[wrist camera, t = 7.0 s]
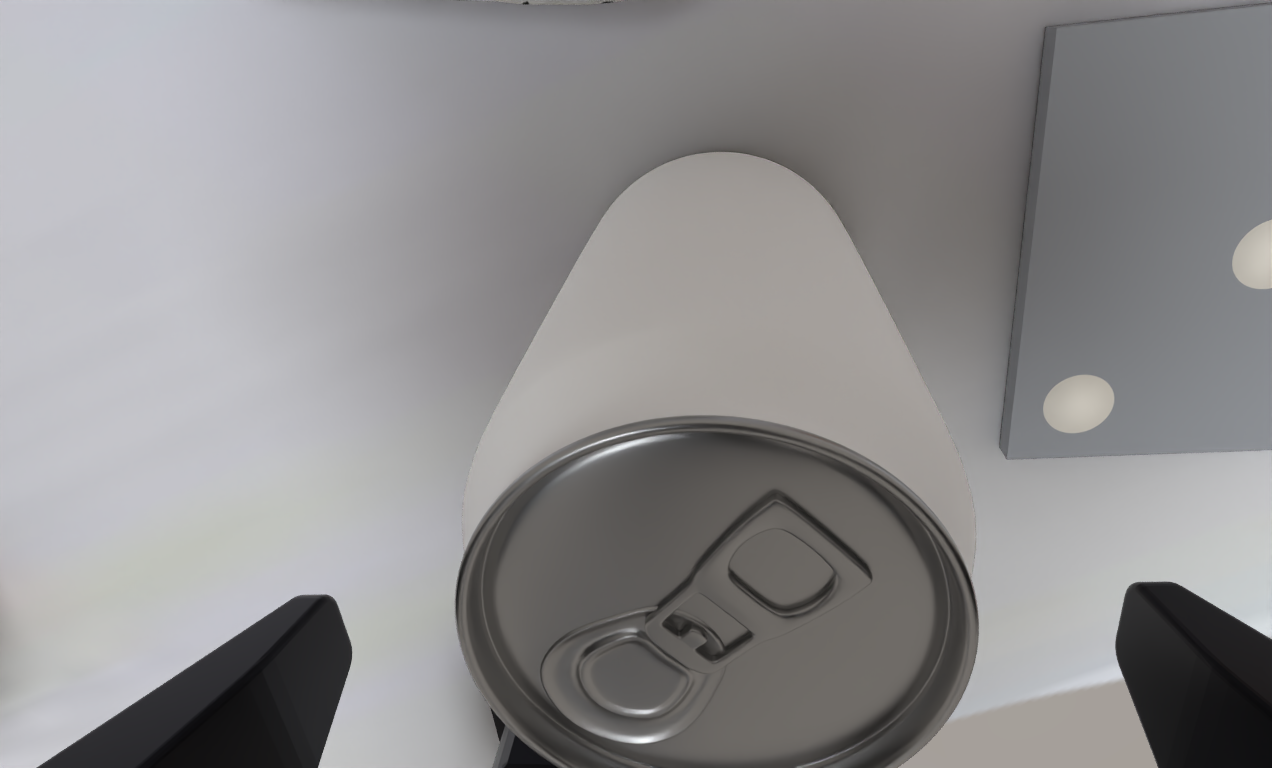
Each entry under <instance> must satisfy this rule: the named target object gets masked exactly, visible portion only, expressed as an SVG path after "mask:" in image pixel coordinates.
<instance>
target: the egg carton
mask: <svg viewBox="0 0 1272 768" xmlns="http://www.w3.org/2000/svg"><path fill="white" fill-rule="evenodd" d="M467 1H497V2H506V3H514V4H553V5H590V4H600V3H610V2H620V1H626V0H467Z"/></svg>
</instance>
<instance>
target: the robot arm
mask: <svg viewBox="0 0 1272 768" xmlns="http://www.w3.org/2000/svg"><path fill="white" fill-rule="evenodd" d="M1115 648H1116V656H1117V660H1118V663H1119V666H1120V669H1121V672H1122V674H1123V677H1124V679H1125V682H1126V685H1127V687H1128V690H1129V693H1130V695H1131V698H1132V700H1133V703H1134V706H1135V708H1136V711H1137V713H1138V716H1139V718H1140V721H1141V724H1142V727H1143V729H1144V731H1145V734H1146V737H1147V740H1148V742H1149V745H1150V747H1151V750H1152V753H1153V755H1154V758H1155V761H1156V763H1157V766H1158V768H1272V639H1270V638H1268V637H1267V636H1265V635H1263V634H1262V633H1260V632H1258V631H1257V630H1255V629H1253V628H1252V627H1250V626H1248V625H1246V624H1245V623H1243V622H1241V621H1240V620H1238V619H1236V618H1235V617H1233V616H1231V615H1230V614H1228V613H1226V612H1225V611H1223V610H1221V609H1219V608H1218V607H1216V606H1214V605H1213V604H1211V603H1209V602H1208V601H1206V600H1204V599H1203V598H1201V597H1199V596H1197V595H1196V594H1194V593H1192V592H1191V591H1189V590H1187V589H1186V588H1184V587H1182V586H1180V585H1178V584H1176V583H1173V582H1136V583H1133V584H1131V585H1130V586H1129V587H1128V589H1127V591H1126V594H1125V597H1124V602H1123V607H1122V612H1121V616H1120V621H1119V626H1118V631H1117V635H1116V642H1115ZM351 660H352V646H351V642H350V639H349V636H348V633H347V631H346V628H345V625H344V622H343V619H342V616H341V613H340V610H339V608H338V605H337V603H336V601H335V600H334V598H333V597H331V596H329V595H300V596H297V597H294V598H293V599H291V600H290V601H288V602H287V603H285V604H284V605H282V606H281V607H279V608H278V609H276V610H275V611H273V612H272V613H270V614H268V615H267V616H265V617H264V618H262V619H261V620H259V621H258V622H256V623H255V624H253V625H252V626H250V627H249V628H247V629H246V630H244V631H243V632H241V633H240V634H238V635H237V636H235V637H234V638H232V639H231V640H229V641H228V642H226V643H225V644H223V645H222V646H220V647H219V648H217V649H216V650H214V651H213V652H211V653H209V654H208V655H206V656H205V657H203V658H202V659H200V660H199V661H197V662H196V663H194V664H193V665H191V666H190V667H188V668H187V669H185V670H184V671H182V672H181V673H179V674H178V675H176V676H175V677H173V678H172V679H170V680H169V681H167V682H166V683H164V684H163V685H161V686H160V687H158V688H157V689H155V690H154V691H152V692H150V693H149V694H147V695H146V696H144V697H143V698H141V699H140V700H138V701H137V702H135V703H134V704H132V705H131V706H129V707H128V708H126V709H125V710H123V711H122V712H120V713H119V714H117V715H116V716H114V717H113V718H111V719H110V720H108V721H107V722H105V723H104V724H102V725H101V726H99V727H98V728H96V729H95V730H93V731H91V732H90V733H88V734H87V735H85V736H84V737H82V738H81V739H79V740H78V741H76V742H75V743H73V744H72V745H70V746H69V747H67V748H66V749H64V750H63V751H61V752H60V753H58V754H57V755H55V756H54V757H52V758H51V759H49V760H48V761H46V762H45V763H43V764H42V765H40V766H39V767H37V768H318V765H319V762H320V759H321V756H322V753H323V750H324V747H325V744H326V740H327V737H328V734H329V731H330V728H331V725H332V722H333V719H334V716H335V712H336V709H337V706H338V703H339V700H340V697H341V694H342V691H343V688H344V685H345V681H346V678H347V675H348V672H349V669H350V665H351ZM491 711H492V714H493V718H494V722H495V726H496V730H497V733H498V737H499V741H500V744H499V747H498V751H497V754H496V757H495V761H494V764H493V767H492V768H558V767H556V766H555V765H553V764H552V763H550V762H549V761H547V760H546V759H544V758H543V757H541V756H540V755H539V754H537V753H536V752H535V751H533V750H532V749H531V748H530V747H528V746H527V745H526V744H525V743H524V742H523V741H521V740H520V739H519V738H518V737H517V736H516V735H515V734H514V733H513V732H512V731H511V730H510V729H509V728H508V727H507V726H506V725H505V724H504V723H503V722H502V720H501V719H500V718H499V717H498V716H497V715H496V713H495V712H494V711H493V710H492V708H491Z"/></svg>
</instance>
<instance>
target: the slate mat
mask: <svg viewBox="0 0 1272 768" xmlns="http://www.w3.org/2000/svg"><path fill="white" fill-rule="evenodd" d="M1000 449H1001V451H1002V452H1003V454H1004V456H1005V457H1006V459H1007V460H1009V459H1037V458H1065V457H1093V456H1121V455H1148V454H1176V453H1204V452H1232V451H1260V450H1272V3H1263V4H1254V5H1244V6H1235V7H1226V8H1217V9H1207V10H1198V11H1189V12H1180V13H1170V14H1161V15H1152V16H1143V17H1133V18H1124V19H1115V20H1106V21H1096V22H1087V23H1078V24H1069V25H1059V26H1050V27H1046V30H1045V40H1044V49H1043V58H1042V67H1041V76H1040V85H1039V94H1038V103H1037V112H1036V121H1035V130H1034V139H1033V148H1032V157H1031V166H1030V175H1029V184H1028V193H1027V202H1026V211H1025V221H1024V230H1023V239H1022V248H1021V257H1020V266H1019V275H1018V284H1017V293H1016V302H1015V311H1014V320H1013V329H1012V338H1011V347H1010V356H1009V365H1008V374H1007V383H1006V392H1005V402H1004V411H1003V420H1002V429H1001V438H1000Z"/></svg>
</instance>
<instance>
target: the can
mask: <svg viewBox="0 0 1272 768" xmlns="http://www.w3.org/2000/svg"><path fill="white" fill-rule="evenodd" d="M462 534H463V546H464V555H463V558H462V561H461V565H460V569H459V573H458V578H457V584H456V593H455V619H456V627H457V633H458V638H459V642H460V646H461V650H462V653H463V656H464V659H465V662H466V664H467V667H468V669H469V671H470V674H471V676H472V678H473V680H474V682H475V684H476V685H477V687H478V689H479V691H480V692H481V694H482V695H483V697H484V698H485V700H486V701H487V703H488V704H489V706H490V707H491V708H492V710H493V711H494V712H495V713H496V715H497V716H498V717H499V718H500V719H501V720H502V722H503V723H504V724H505V725H506V726H507V727H508V728H509V729H510V730H511V731H512V732H513V733H514V734H515V735H516V736H517V737H518V738H519V739H520V740H521V741H523V742H524V743H525V744H526V745H527V746H528V747H530V748H531V749H532V750H533V751H535V752H536V753H537V754H539V755H540V756H541V757H543V758H544V759H546V760H547V761H549V762H550V763H552V764H553V765H555V766H556V767H558V768H898V767H899V766H901V765H902V764H903V763H905V762H906V761H908V760H909V759H910V758H911V757H912V756H914V755H915V754H916V753H917V752H918V751H920V749H922V748H923V747H924V746H925V745H926V744H927V743H928V742H929V741H930V740H931V739H932V738H933V737H934V736H935V734H937V733H938V731H939V730H940V729H941V728H942V727H943V725H944V724H945V723H946V721H947V720H948V719H949V717H950V716H951V714H952V713H953V711H954V710H955V708H956V707H957V705H958V703H959V701H960V700H961V698H962V696H963V694H964V692H965V689H966V687H967V684H968V682H969V679H970V676H971V673H972V670H973V667H974V663H975V658H976V654H977V647H978V636H979V618H978V607H977V600H976V595H975V591H974V587H973V583H972V580H971V577H972V572H973V566H974V558H975V547H976V522H975V512H974V506H973V500H972V496H971V492H970V488H969V484H968V481H967V477H966V474H965V471H964V468H963V465H962V462H961V459H960V457H959V454H958V452H957V449H956V447H955V445H954V443H953V440H952V438H951V436H950V434H949V431H948V429H947V427H946V425H945V423H944V421H943V418H942V416H941V414H940V412H939V410H938V408H937V406H936V404H935V402H934V400H933V398H932V396H931V394H930V392H929V390H928V388H927V386H926V384H925V382H924V380H923V378H922V376H921V374H920V372H919V370H918V368H917V366H916V364H915V362H914V360H913V358H912V356H911V354H910V352H909V350H908V348H907V346H906V344H905V342H904V340H903V338H902V336H901V334H900V332H899V330H898V329H897V327H896V325H895V323H894V321H893V319H892V317H891V315H890V313H889V311H888V309H887V307H886V305H885V303H884V301H883V299H882V297H881V295H880V293H879V292H878V290H877V288H876V286H875V284H874V282H873V280H872V278H871V276H870V274H869V272H868V270H867V268H866V267H865V265H864V263H863V261H862V259H861V257H860V255H859V253H858V251H857V249H856V248H855V246H854V244H853V242H852V240H851V238H850V236H849V235H848V233H847V231H846V229H845V227H844V226H843V224H842V222H841V221H840V219H839V217H838V216H837V214H836V213H835V211H834V210H833V208H832V207H831V206H830V204H829V203H828V202H827V200H826V199H825V198H824V197H823V196H822V195H821V194H820V193H819V192H818V191H817V190H816V189H815V188H814V187H813V186H812V185H811V184H809V183H808V182H807V181H806V180H804V179H803V178H802V177H800V176H799V175H797V174H796V173H794V172H793V171H791V170H789V169H787V168H786V167H784V166H782V165H779V164H777V163H775V162H772V161H770V160H767V159H764V158H761V157H757V156H753V155H748V154H743V153H734V152H708V153H700V154H694V155H690V156H686V157H682V158H679V159H676V160H673V161H670V162H668V163H665V164H663V165H661V166H659V167H657V168H655V169H653V170H651V171H650V172H648V173H646V174H645V175H643V176H642V177H640V178H639V179H638V180H636V181H635V182H634V183H633V184H631V185H630V186H629V187H628V188H627V189H626V190H625V191H624V192H623V193H622V194H621V195H620V196H619V197H618V198H617V199H616V200H615V201H614V202H613V204H612V205H611V206H610V207H609V209H608V210H607V212H606V213H605V215H604V216H603V218H602V219H601V220H600V222H599V224H598V225H597V227H596V229H595V230H594V232H593V234H592V235H591V237H590V239H589V241H588V242H587V244H586V246H585V248H584V249H583V251H582V253H581V255H580V256H579V258H578V260H577V262H576V263H575V265H574V267H573V269H572V271H571V272H570V274H569V276H568V278H567V279H566V281H565V283H564V285H563V286H562V288H561V290H560V292H559V294H558V295H557V297H556V299H555V301H554V303H553V304H552V306H551V308H550V310H549V312H548V313H547V315H546V317H545V319H544V321H543V322H542V324H541V326H540V328H539V330H538V331H537V333H536V335H535V337H534V339H533V341H532V342H531V344H530V346H529V348H528V350H527V351H526V353H525V355H524V357H523V359H522V361H521V362H520V364H519V366H518V368H517V370H516V372H515V373H514V375H513V377H512V379H511V381H510V383H509V385H508V386H507V388H506V390H505V392H504V394H503V396H502V398H501V400H500V401H499V403H498V405H497V407H496V409H495V411H494V413H493V415H492V417H491V419H490V421H489V423H488V425H487V427H486V429H485V431H484V434H483V436H482V438H481V440H480V442H479V445H478V447H477V450H476V453H475V456H474V459H473V462H472V465H471V468H470V471H469V474H468V478H467V482H466V487H465V492H464V499H463V509H462Z"/></svg>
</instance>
